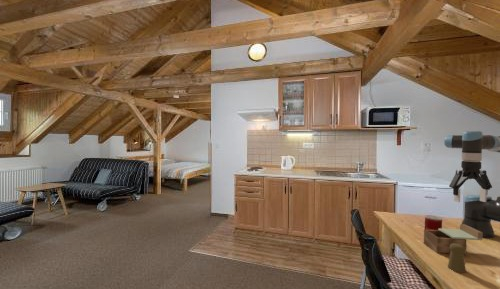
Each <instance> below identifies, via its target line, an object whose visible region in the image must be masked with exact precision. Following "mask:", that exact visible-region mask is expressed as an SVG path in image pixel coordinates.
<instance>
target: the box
mask: <svg viewBox="0 0 500 289" xmlns="http://www.w3.org/2000/svg"><path fill="white" fill-rule="evenodd" d="M452 243H456V244H460V245H462V246H464V248H465V253H464V256H467V239H453V238H451V237H450V236H448V235H446V234H445V233H443V232H441V231H439V230H425V229H424V230H423V244H424V245H425V246H426V247H428V248H429V249H431V250H432V251H433V252H435V253H436V254H442V255H444V254H445V255H450V254H451V250H450V245H451V244H452Z"/></svg>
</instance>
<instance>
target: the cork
mask: <svg viewBox="0 0 500 289" xmlns="http://www.w3.org/2000/svg"><path fill="white" fill-rule="evenodd" d="M450 250H451V254H449V258H448V263H447V269H449V270H450V269H451V270H450V271H452V270H453V271H452V272H455V271H456V272H455V273H458V272H459V274H466V272H467V271H466V270H467V269H466V264H465V262H466V261H465V255H464V253H465V248H464V246H462V245H460V244H456V243H452V244H451V245H450Z"/></svg>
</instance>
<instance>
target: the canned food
mask: <svg viewBox="0 0 500 289" xmlns="http://www.w3.org/2000/svg"><path fill="white" fill-rule="evenodd" d="M438 228H441V229H443V218H442V217H440V216H437V215H430V214H427V215H426V214H425V216H424V230H438Z"/></svg>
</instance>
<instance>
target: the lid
mask: <svg viewBox="0 0 500 289" xmlns="http://www.w3.org/2000/svg"><path fill="white" fill-rule="evenodd" d="M460 225H461V230H460V229H457V228H456V229H455V228H453V229H452V228H442V229H441V228H438V230H439V231H441V232H443V233H445V234H446V235H448V236H450V237H451V238H453V239H466V240H472V241H473V240H474V241H483V238H484V237H483V233H482V232H480V231H478V230H476V229H474V228H472V227H470V226H467V225H465V224H462V223H460Z"/></svg>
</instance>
